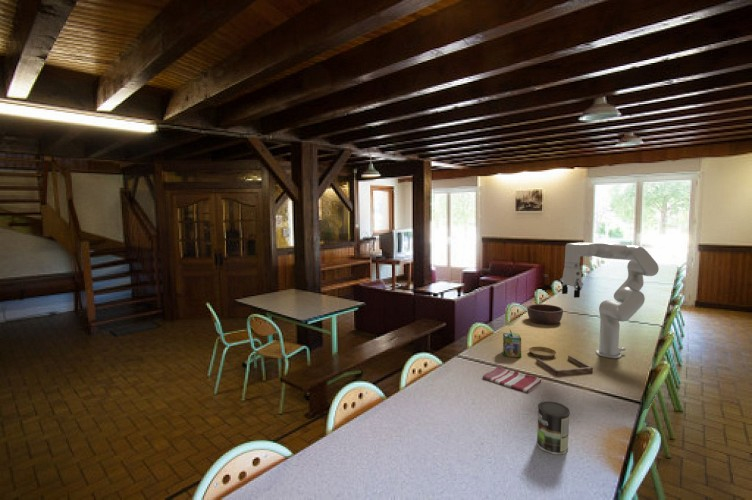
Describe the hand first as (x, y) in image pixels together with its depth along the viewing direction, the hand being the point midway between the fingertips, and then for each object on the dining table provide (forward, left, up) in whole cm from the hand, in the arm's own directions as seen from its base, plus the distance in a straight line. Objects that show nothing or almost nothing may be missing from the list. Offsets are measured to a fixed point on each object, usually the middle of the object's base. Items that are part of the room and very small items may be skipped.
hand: (570, 295), depth 216 cm
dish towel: (+47, +21, -37) cm, 63 cm away
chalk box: (+29, -11, -36) cm, 47 cm away
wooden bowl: (-31, -69, -36) cm, 84 cm away
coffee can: (+61, +73, -36) cm, 102 cm away
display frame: (+12, +11, -36) cm, 39 cm away
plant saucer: (+12, -7, -36) cm, 39 cm away
